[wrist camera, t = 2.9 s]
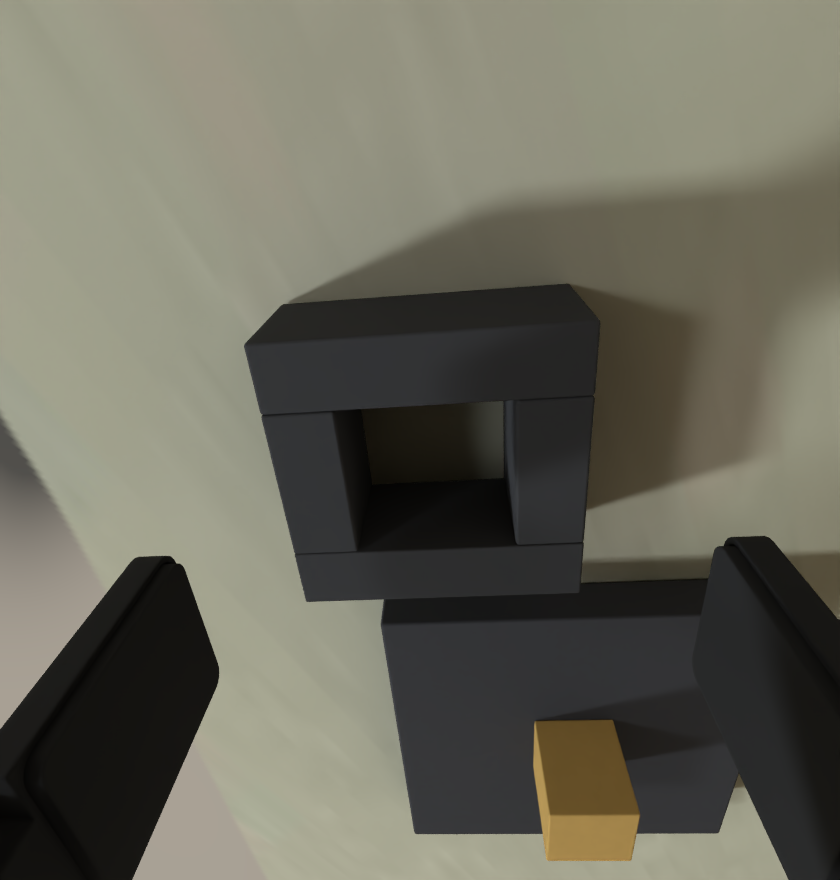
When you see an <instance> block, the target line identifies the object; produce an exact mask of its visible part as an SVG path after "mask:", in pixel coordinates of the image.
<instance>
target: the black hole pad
mask: <svg viewBox="0 0 840 880" xmlns="http://www.w3.org/2000/svg"><path fill="white" fill-rule="evenodd" d="M599 334H600V320H599V319H598V318H597V317H596V315H595V314H594V313H593V312H592V311H591V309H590V308H589V307H588V306H587V305H586V304H585V302H584V301H583V300H582V299H581V298H580V296H579V295H578V294H577V293H576V292H575V290H574V289H573V288H572V287H571V286H570V285H569V284H558V285H544V286H530V287H517V288H503V289H489V290H475V291H462V292H448V293H434V294H420V295H406V296H393V297H379V298H365V299H351V300H338V301H324V302H310V303H296V304H283V305H281V306H280V307H279V308H278V309H277V311H276V312H275V313H274V314H273V315H272V316H271V317H270V318H269V319H268V320H267V321H266V322H265V323H264V324H263V325H262V326H261V327H260V328H259V330H258V331H257V332H256V333H255V334H254V335H253V336H252V337H251V338H250V339H249V340H248V341H247V342H246V343H245V345H244V348H245V352H246V356H247V360H248V364H249V368H250V372H251V376H252V380H253V384H254V388H255V393H256V397H257V401H258V405H259V409H260V413H261V414H263V415H262V422H263V426H264V430H265V434H266V438H267V442H268V446H269V450H270V454H271V458H272V463H273V467H274V471H275V475H276V479H277V483H278V487H279V491H280V495H281V499H282V503H283V507H284V512H285V516H286V520H287V524H288V528H289V532H290V536H291V540H292V544H293V548H294V552H295V557H296V562H297V566H298V570H299V574H300V578H301V582H302V586H303V590H304V594H305V598H306V601H307V602H315V601H345V600H375V599H406V598H436V597H466V596H496V595H527V594H557V593H579V592H580V584H581V572H582V559H583V546H584V543H583V540H584V529H585V516H586V503H587V490H588V477H589V464H590V451H591V438H592V425H593V412H594V396H593V395H594V393H595V386H596V373H597V360H598V347H599ZM491 401H503V410H504V479H484V480H463V481H443V482H422V483H401V484H380V485H372V482H371V475H370V468H369V461H368V455H367V448H366V441H365V434H364V428H363V421H362V414H361V409H371V408H388V407H405V406H422V405H440V404H457V403H474V402H491Z"/></svg>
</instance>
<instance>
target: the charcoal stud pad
mask: <svg viewBox="0 0 840 880" xmlns="http://www.w3.org/2000/svg"><path fill="white" fill-rule="evenodd" d="M707 583H708V579H705V580H676V581H647V582H617V583H588V584H580V592H579V593H557V594H527V595H496V596H466V597H436V598H406V599H384V604H383V611H382V619H381V629H382V635H383V641H384V647H385V654H386V660H387V666H388V672H389V678H390V684H391V691H392V697H393V703H394V709H395V715H396V722H397V728H398V734H399V740H400V746H401V752H402V759H403V765H404V771H405V777H406V783H407V790H408V796H409V802H410V808H411V814H412V820H413V827H414V832H415V834H543V838H544V845H545V852H546V859H547V860H548V861H630V860H631V859H632V854H633V849H634V844H635V839H636V834H644V833H719V831H720V828H721V825H722V822H723V819H724V816H725V813H726V810H727V807H728V804H729V801H730V798H731V795H732V792H733V789H734V786H735V783H736V780H737V777H738V774H739V772H738V770H737V768H736V765H735V763H734V761H733V759H732V757H731V755H730V752H729V750H728V748H727V746H726V744H725V742H724V740H723V737H722V735H721V733H720V731H719V729H718V727H717V724H716V722H715V720H714V718H713V716H712V714H711V712H710V709H709V707H708V705H707V703H706V701H705V699H704V696H703V694H702V692H701V690H700V688H699V686H698V684H697V681H696V679H695V676H694V672H693V667H692V657H693V652H694V647H695V642H696V637H697V632H698V627H699V622H700V617H701V613H702V608H703V603H704V598H705V593H706V588H707Z"/></svg>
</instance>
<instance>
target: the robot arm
mask: <svg viewBox="0 0 840 880" xmlns="http://www.w3.org/2000/svg"><path fill="white" fill-rule="evenodd" d="M692 667H693V672H694V676H695V679H696V681H697V684H698V686H699V688H700V690H701V692H702V694H703V696H704V699H705V701H706V703H707V705H708V707H709V709H710V712H711V714H712V716H713V718H714V720H715V722H716V724H717V727H718V729H719V731H720V733H721V735H722V737H723V740H724V742H725V744H726V746H727V748H728V750H729V752H730V755H731V757H732V759H733V761H734V763H735V765H736V768H737V770H738V772H739V774H740V776H741V778H742V780H743V783H744V785H745V787H746V789H747V791H748V793H749V795H750V798H751V800H752V802H753V804H754V806H755V808H756V811H757V813H758V815H759V817H760V819H761V821H762V823H763V826H764V828H765V830H766V832H767V834H768V836H769V839H770V841H771V843H772V845H773V847H774V849H775V851H776V854H777V856H778V858H779V860H780V862H781V864H782V866H783V869H784V871H785V873H786V875H787V877H788V879H789V880H840V620H839V619H837V618H836V616H835V615H834V614H833V613H832V612H831V610H830V609H829V608H828V607H827V606H826V604H825V603H824V602H823V601H822V600H821V598H820V597H819V596H818V595H817V594H816V592H815V591H814V590H813V589H812V588H811V586H810V585H809V584H808V583H807V581H806V580H805V579H804V578H803V577H802V575H801V574H800V573H799V572H798V571H797V569H796V568H795V567H794V566H793V565H792V563H791V562H790V561H789V560H788V559H787V557H786V556H785V555H784V554H783V553H782V551H781V550H780V549H779V548H778V547H777V545H776V544H775V543H774V542H773V541H772V540H771V539H770V538H769V537H766V536H751V537H730V538H728V539H727V540H726V541H725V544H724V546H719V547H717V548H716V549H715V551H714V554H713V559H712V564H711V569H710V574H709V578H708V583H707V588H706V593H705V598H704V603H703V608H702V613H701V617H700V622H699V627H698V632H697V637H696V642H695V647H694V652H693V657H692ZM218 679H219V666H218V663H217V660H216V657H215V654H214V651H213V648H212V646H211V643H210V640H209V637H208V634H207V631H206V629H205V626H204V623H203V620H202V617H201V614H200V612H199V609H198V606H197V603H196V600H195V597H194V595H193V592H192V589H191V586H190V583H189V580H188V578H187V575H186V572H185V569H184V567H183V566H182V565H181V564H176V562H175V560H174V559H173V558H172V557H170V556H149V557H137V558H135V559H134V560H133V561H132V562H131V563H130V564H129V565H128V566H127V568H126V569H125V570H124V572H123V573H122V574H121V575H120V577H119V578H118V579H117V580H116V582H115V583H114V584H113V586H112V587H111V588H110V589H109V591H108V592H107V593H106V595H105V596H104V597H103V598H102V600H101V601H100V602H99V604H98V605H97V606H96V608H95V609H94V610H93V611H92V613H91V614H90V615H89V616H88V618H87V619H86V620H85V622H84V623H83V624H82V625H81V627H80V628H79V629H78V630H77V632H76V633H75V634H74V636H73V637H72V638H71V639H70V641H69V642H68V643H67V645H66V646H65V647H64V648H63V650H62V651H61V652H60V654H59V655H58V656H57V657H56V659H55V660H54V661H53V663H52V664H51V665H50V666H49V668H48V669H47V670H46V672H45V673H44V674H43V675H42V677H41V678H40V679H39V680H38V682H37V683H36V684H35V686H34V687H33V688H32V689H31V691H30V692H29V693H28V695H27V696H26V697H25V698H24V700H23V701H22V702H21V704H20V705H19V706H18V708H17V709H16V710H15V711H14V712H13V714H12V715H11V717H10V718H9V719H8V720H7V721H6V723H5V724H4V725H3V727H2V728H1V729H0V880H132V879H133V877H134V874H135V872H136V870H137V867H138V865H139V863H140V860H141V858H142V856H143V854H144V851H145V849H146V847H147V845H148V842H149V840H150V838H151V835H152V833H153V831H154V829H155V826H156V824H157V822H158V819H159V817H160V815H161V813H162V810H163V808H164V806H165V803H166V801H167V799H168V797H169V794H170V792H171V790H172V787H173V785H174V783H175V781H176V778H177V776H178V774H179V771H180V769H181V767H182V764H183V762H184V760H185V758H186V756H187V753H188V751H189V748H190V746H191V744H192V742H193V740H194V737H195V735H196V733H197V730H198V728H199V726H200V724H201V721H202V719H203V717H204V714H205V712H206V710H207V708H208V705H209V703H210V701H211V698H212V696H213V694H214V692H215V689H216V687H217V684H218Z"/></svg>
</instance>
